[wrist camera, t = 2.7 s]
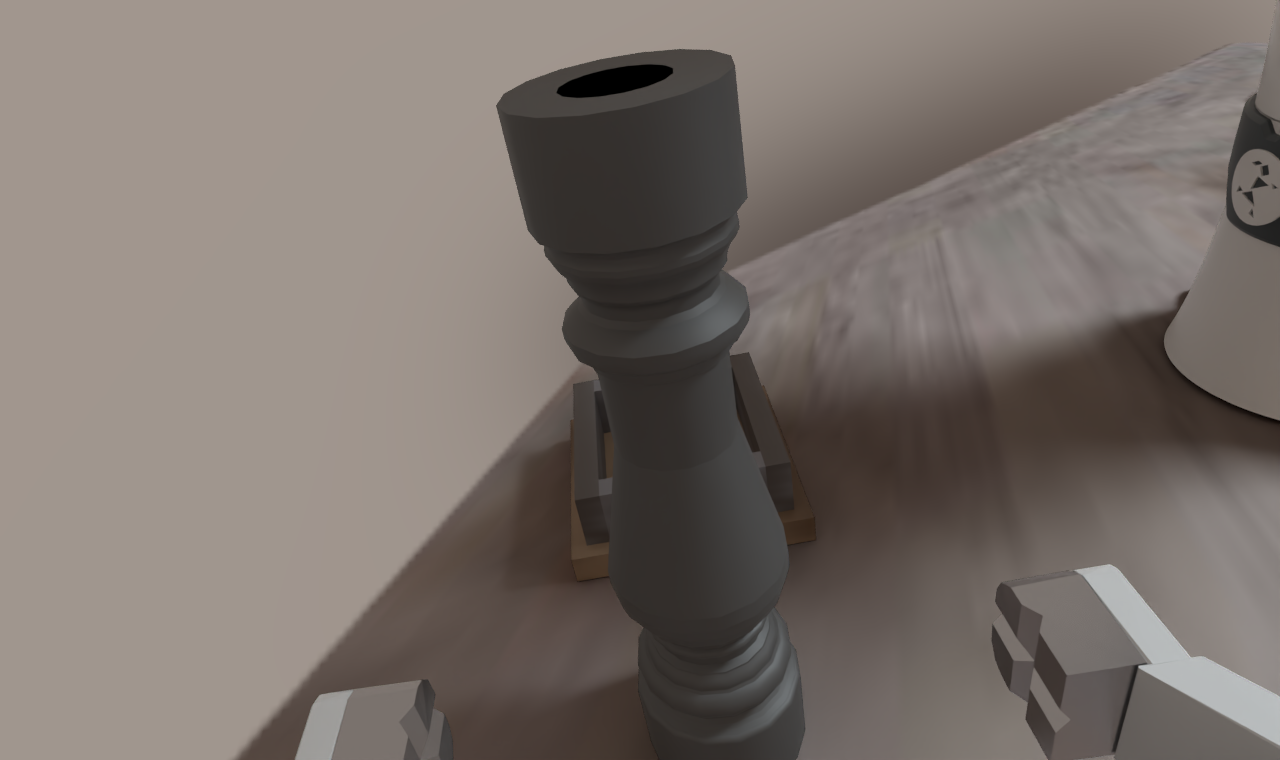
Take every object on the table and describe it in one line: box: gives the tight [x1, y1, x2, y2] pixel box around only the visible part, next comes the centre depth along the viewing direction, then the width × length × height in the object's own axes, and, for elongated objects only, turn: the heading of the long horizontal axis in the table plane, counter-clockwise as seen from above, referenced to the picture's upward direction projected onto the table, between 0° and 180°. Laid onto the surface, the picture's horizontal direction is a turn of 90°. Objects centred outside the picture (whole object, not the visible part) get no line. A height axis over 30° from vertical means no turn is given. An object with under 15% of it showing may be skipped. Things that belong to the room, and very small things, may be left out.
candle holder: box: [496, 49, 805, 760], centre depth 26 cm, size 6×6×25 cm
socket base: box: [571, 352, 816, 582], centre depth 44 cm, size 12×12×4 cm
